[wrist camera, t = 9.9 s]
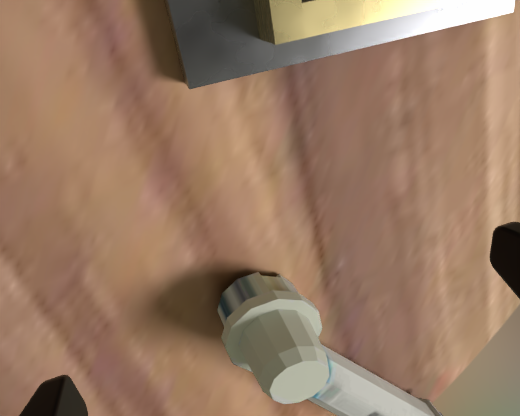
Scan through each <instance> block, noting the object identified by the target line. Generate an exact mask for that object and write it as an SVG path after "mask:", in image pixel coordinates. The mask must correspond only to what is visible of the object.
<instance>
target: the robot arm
mask: <svg viewBox="0 0 520 416" xmlns="http://www.w3.org/2000/svg"><path fill="white" fill-rule="evenodd" d="M490 262H491V264H492V266H493V268H494V269H495V270H496V272H497V273H498V274H499V275H500V276H501V277H502V279H503V280H504V281H505V282H506V283H507V285H508V286H509V287H510V288H511V289H512V290H513V292H514V293H515V294H516V295H517V296H518V298H519V299H520V223H519V222H510V223H507V224H504V225H501V226H498V227H497V228H495V230H494V232H493V237H492V244H491V251H490ZM19 416H88V411H87V407H86V404H85V402H84V400H83V398H82V396H81V395H80V393H79V391H78V390H77V388H76V386H75V385H74V383H73V381H72V380H71V378H70V377H69V376H68V375H61V376H58V377H55V378H52V379H49V380H47V381H45V382H43V383H42V384H41V385H40V386H39V387H38V389H37V390H36V392H35V393H34V395H33V396H32V398H31V399H30V401H29V402H28V404H27V405H26V406H25V408H24V409H23V411H22V412H21V414H20V415H19Z"/></svg>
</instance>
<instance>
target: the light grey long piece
mask: <svg viewBox="0 0 520 416" xmlns="http://www.w3.org/2000/svg"><path fill="white" fill-rule="evenodd" d="M217 311H218V313H219V316H220V318H221V321H222V323H223V325H224V330H223V334H222V337H221V339H222V341H223V344H224V346H225V348H226V350H227V353H228V355H229V357H230V359H231V361H232V363H233V364H235V365H237V366H239V367H242V368H244V369H246V370H248V371H251V372H253V374H254V376H255V377H256V379H257V381H258V383H259V385H260V386H261V388H262V390H263V392H265V393H266V394H267V395H268V396H269V397H271V398H272V399H273V400H275V401H277V402H280V403H283V404H290V403H299V402H301V401H303V400H306V399H308V400H309V401H311V402H313V403H315V404H317V405H319V406H321V407H323V408H324V409H326V410H328V411H330V412H332V413H334V414H336V415H338V416H443V415H442V414H441V413H440V412H439V411H438V410H437V409H436V408H435V407H434V405H433V404H432V403H431V402H430V400H427V399H421V398H415V397H413V396H412V395H410V394H408V393H406V392H405V391H403V390H401V389H399V388H398V387H396V386H394V385H392V384H390V383H389V382H387V381H385V380H383V379H382V378H380V377H378V376H376V375H375V374H373V373H371V372H369V371H367V370H366V369H364V368H362V367H360V366H359V365H357V364H355V363H353V362H352V361H350V360H348V359H346V358H344V357H343V356H341V355H339V354H337V353H336V352H334V351H332V350H330V349H329V348H327V347H325V346H323V345H322V344H321V343H320V341H319V339H318V337H319V335H320V332H321V330H322V324H321V320H320V315H319V311H318V310H317V308H316V307H315V305H314V304H313V303H312V302H311V301H309V300H308V299H306V298H305V297H304V296H302V295H301V294H299V293H298V291H297V290H296V288H295V287H294V285H293V284H292V283H291V282H290V281H288V280H287V279H285V278H284V277H283V276H281V275H280V274H278V275H277V276H276V277H271V276H261V275H260V273H259V272H257V273H254V274H251V275H248V276H245V277H242V278H239V279H237V280H236V281H235V282H234V283H233V284H232V285H231V286H229V287H228V288H227V289H226V290H225V291H224V292H223V293H222V295H221V299H220V303H219V306H218V310H217Z"/></svg>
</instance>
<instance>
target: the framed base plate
mask: <svg viewBox="0 0 520 416" xmlns="http://www.w3.org/2000/svg"><path fill="white" fill-rule="evenodd" d="M514 3H515V0H165V4H166V8H167V12H168V16H169V20H170V24H171V28H172V32H173V36H174V40H175V44H176V48H177V52H178V56H179V60H180V64H181V68H182V72H183V76H184V80H185V84H186V85H187V86H188V88H189V89H192V88H197V87H201V86H205V85H209V84H213V83H218V82H222V81H226V80H230V79H234V78H239V77H243V76H247V75H251V74H255V73H260V72H264V71H268V70H272V69H276V68H281V67H285V66H289V65H293V64H297V63H302V62H306V61H310V60H314V59H318V58H323V57H327V56H331V55H335V54H339V53H344V52H348V51H352V50H356V49H360V48H365V47H369V46H373V45H377V44H381V43H386V42H390V41H394V40H398V39H402V38H407V37H411V36H415V35H419V34H424V33H428V32H432V31H436V30H440V29H445V28H449V27H453V26H457V25H461V24H466V23H470V22H474V21H478V20H482V19H487V18H491V17H495V16H499V15H503V14H508V13H512V12H513V11H514Z"/></svg>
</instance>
